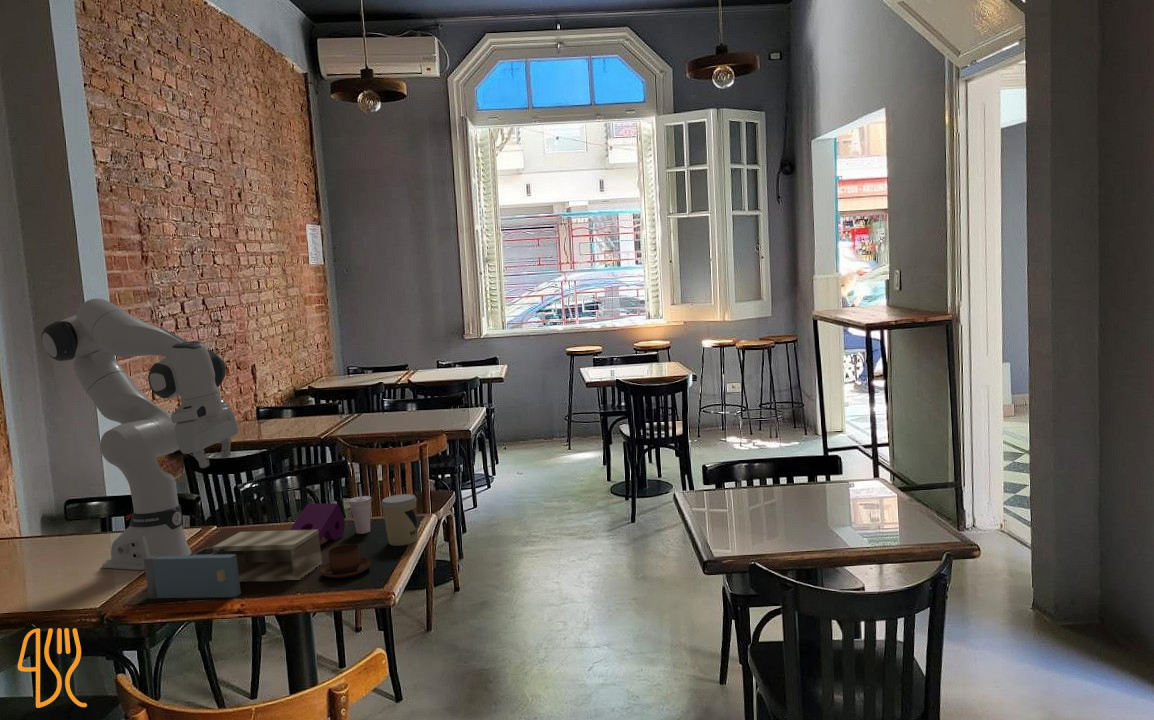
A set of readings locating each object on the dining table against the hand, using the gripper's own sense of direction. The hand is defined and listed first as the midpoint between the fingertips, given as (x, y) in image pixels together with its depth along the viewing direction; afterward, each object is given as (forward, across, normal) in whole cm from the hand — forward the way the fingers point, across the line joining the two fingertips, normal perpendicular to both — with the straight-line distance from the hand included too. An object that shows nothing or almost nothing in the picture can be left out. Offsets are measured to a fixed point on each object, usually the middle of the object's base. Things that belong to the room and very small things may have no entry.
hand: (216, 461), depth 209 cm
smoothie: (+33, -35, +16) cm, 51 cm away
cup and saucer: (+33, -1, +26) cm, 42 cm away
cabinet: (+30, 0, +4) cm, 31 cm away
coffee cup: (+34, -25, +32) cm, 53 cm away
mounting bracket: (+32, -25, +6) cm, 41 cm away
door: (+29, +12, -6) cm, 32 cm away
